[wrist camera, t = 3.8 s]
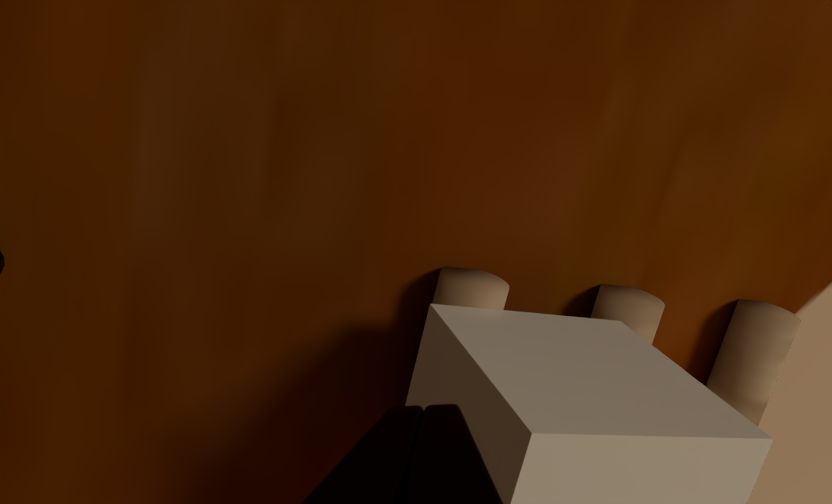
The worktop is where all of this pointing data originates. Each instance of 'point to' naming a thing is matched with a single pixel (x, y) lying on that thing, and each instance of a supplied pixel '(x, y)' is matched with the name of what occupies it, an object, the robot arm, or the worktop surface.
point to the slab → (583, 411)
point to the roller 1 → (470, 289)
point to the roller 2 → (752, 356)
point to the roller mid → (629, 309)
